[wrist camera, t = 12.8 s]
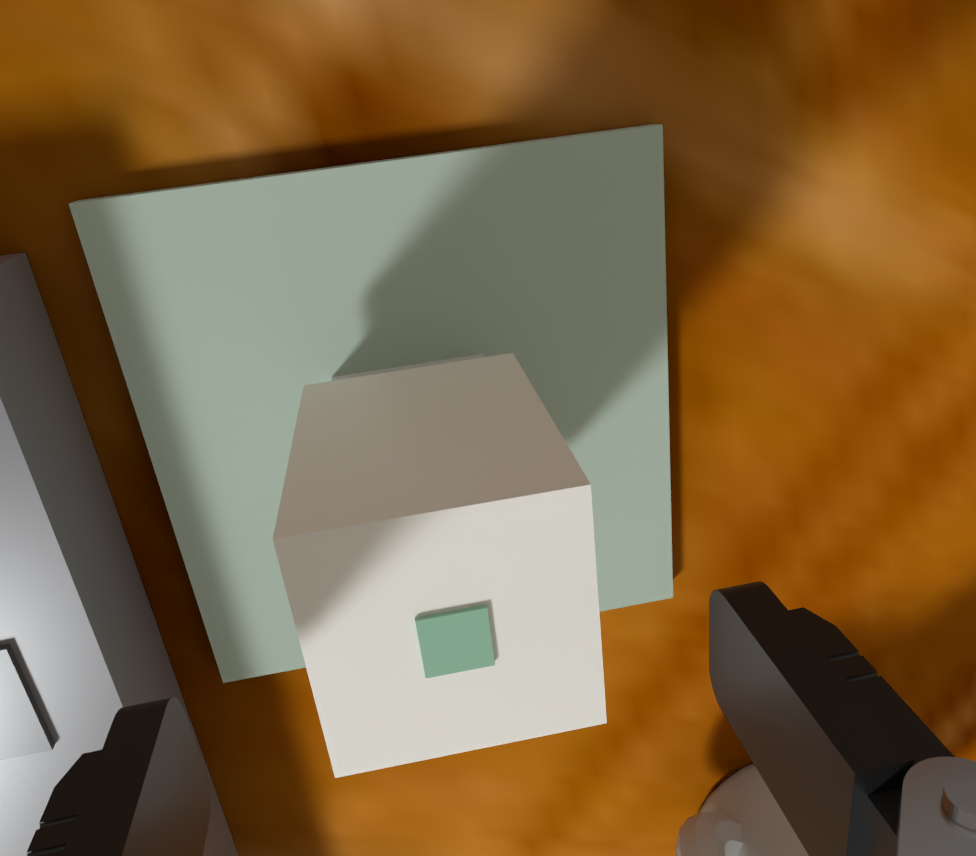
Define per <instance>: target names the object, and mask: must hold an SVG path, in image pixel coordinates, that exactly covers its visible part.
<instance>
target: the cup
mask: <svg viewBox="0 0 976 856" xmlns="http://www.w3.org/2000/svg"><path fill="white" fill-rule="evenodd" d="M676 856H809V855H808V853H807V852H806V850H805V848H804V847H803V845H802V843H801V842H800V840H799V838H798V837H797V835H796V833H795V832H794V830H793V828H792V827H791V825H790V823H789V822H788V820H787V818H786V817H785V815H784V813H783V812H782V810H781V808H780V807H779V805H778V803H777V802H776V800H775V798H774V797H773V795H772V793H771V792H770V790H769V788H768V787H767V785H766V783H765V782H764V780H763V778H762V777H761V775H760V773H759V772H758V770H757V768H756V767H755V765H754V763H753V764H751V765H749V766H746V767H744V768H742V769H741V770H739V771H738V772H736V773H735V774H733V775H732V776H730V777H729V778H727V779H726V780H724V781H723V782H722V783H721V784H720V785H719V786H718V787H717V788H716V789H715V790H714V791H713V792H712V793H711V794H710V795H709V796H708V798H707V799H706V801H705V802H704V804H703V805H702V807H701V809H700V810H699V812H698V814H697V815H694V816H692V817H689V818H688V819H687V820H686V821H685V823H684V824H683V825H682V827H681V828H680V830H679V835H678V840H677V844H676Z"/></svg>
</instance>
